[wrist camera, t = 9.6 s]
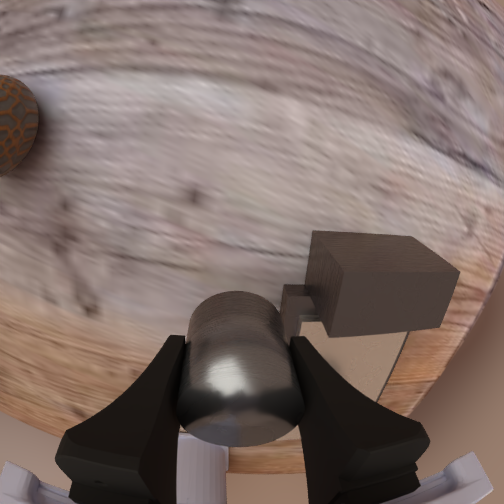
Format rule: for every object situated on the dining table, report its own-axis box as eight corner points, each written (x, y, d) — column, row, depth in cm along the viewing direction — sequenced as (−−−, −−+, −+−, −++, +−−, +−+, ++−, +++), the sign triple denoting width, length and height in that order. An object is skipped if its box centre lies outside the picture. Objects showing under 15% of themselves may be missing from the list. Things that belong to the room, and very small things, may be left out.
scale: (359, 415, 28) (376, 456, 23) (262, 425, 27) (268, 473, 22) (426, 237, 20) (475, 271, 15) (290, 229, 19) (314, 271, 14)
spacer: (277, 364, 15) (294, 443, 10) (191, 363, 14) (183, 445, 10) (287, 291, 13) (315, 372, 8) (185, 289, 13) (167, 373, 8)
